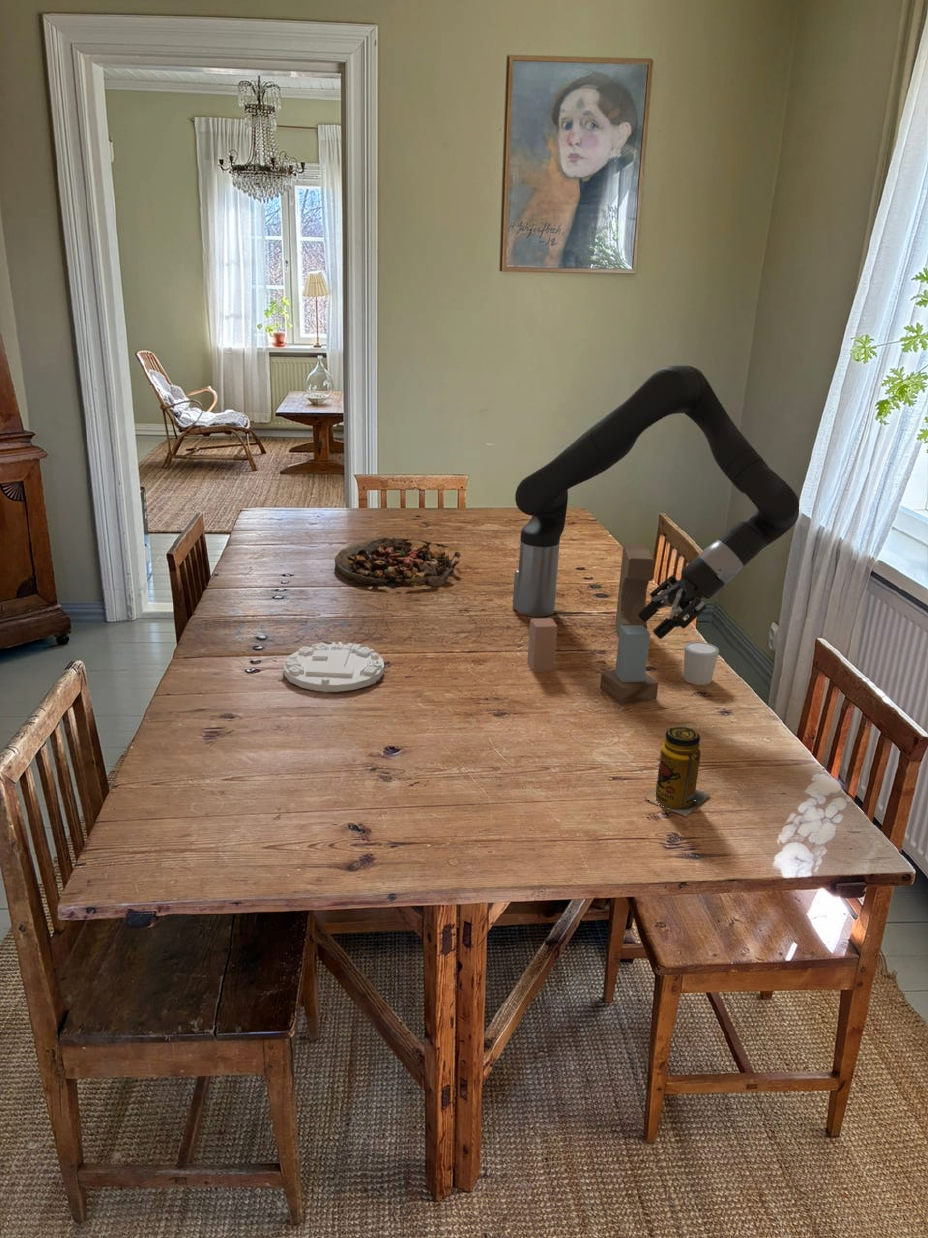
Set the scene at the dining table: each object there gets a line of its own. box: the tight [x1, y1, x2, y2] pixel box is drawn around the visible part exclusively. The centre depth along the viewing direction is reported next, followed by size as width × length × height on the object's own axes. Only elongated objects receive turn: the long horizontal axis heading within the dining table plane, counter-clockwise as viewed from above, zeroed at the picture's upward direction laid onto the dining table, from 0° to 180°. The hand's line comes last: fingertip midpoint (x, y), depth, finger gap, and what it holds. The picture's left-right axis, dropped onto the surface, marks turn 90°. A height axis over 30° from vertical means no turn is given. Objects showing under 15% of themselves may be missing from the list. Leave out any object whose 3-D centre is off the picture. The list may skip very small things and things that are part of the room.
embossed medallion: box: [283, 641, 385, 694], centre depth 189 cm, size 20×20×3 cm
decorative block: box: [614, 544, 656, 638], centre depth 210 cm, size 11×6×20 cm, turn 177°
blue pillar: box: [614, 625, 651, 682], centre depth 182 cm, size 4×4×10 cm
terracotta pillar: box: [527, 617, 558, 673], centre depth 194 cm, size 4×4×10 cm
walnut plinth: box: [599, 669, 659, 706], centre depth 185 cm, size 8×8×4 cm
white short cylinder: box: [682, 641, 720, 686], centre depth 192 cm, size 7×7×7 cm
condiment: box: [644, 725, 711, 818], centre depth 148 cm, size 7×8×12 cm
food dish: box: [334, 536, 462, 588], centre depth 251 cm, size 35×33×8 cm
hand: (648, 627), depth 180 cm, fingers open, 8 cm apart
